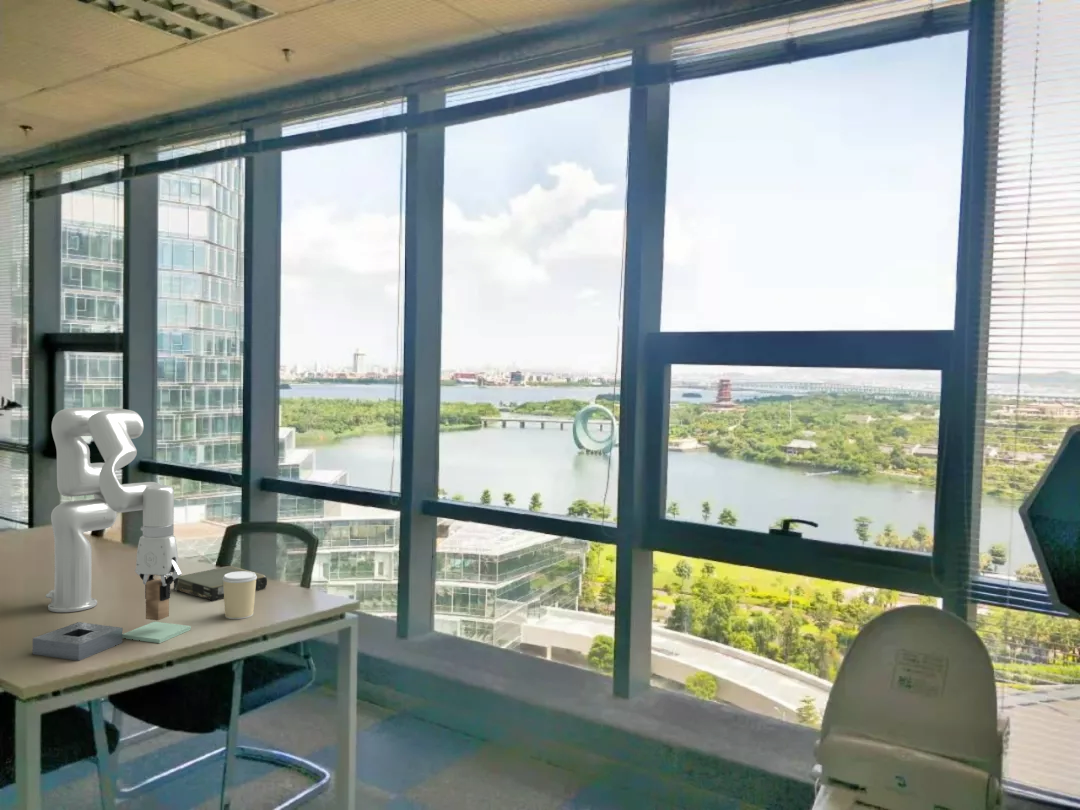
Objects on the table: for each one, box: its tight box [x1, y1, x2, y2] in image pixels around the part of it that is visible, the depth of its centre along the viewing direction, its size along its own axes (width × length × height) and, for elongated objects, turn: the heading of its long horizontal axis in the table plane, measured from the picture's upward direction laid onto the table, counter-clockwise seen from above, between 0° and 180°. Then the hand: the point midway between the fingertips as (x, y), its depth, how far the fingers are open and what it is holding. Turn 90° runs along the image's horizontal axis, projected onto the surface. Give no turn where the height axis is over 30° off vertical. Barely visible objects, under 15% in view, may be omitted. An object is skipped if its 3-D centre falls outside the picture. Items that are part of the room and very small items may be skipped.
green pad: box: [122, 621, 192, 644], centre depth 217 cm, size 12×12×1 cm
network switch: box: [173, 565, 268, 602], centre depth 263 cm, size 23×23×5 cm
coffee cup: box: [223, 570, 257, 620], centre depth 235 cm, size 9×9×12 cm
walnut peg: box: [145, 578, 170, 621], centre depth 216 cm, size 4×4×10 cm
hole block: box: [32, 621, 123, 662], centre depth 204 cm, size 14×14×4 cm
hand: (157, 598), depth 217 cm, fingers closed on walnut peg, 4 cm apart
